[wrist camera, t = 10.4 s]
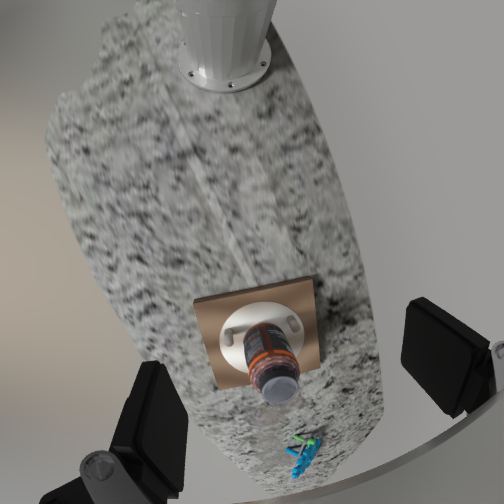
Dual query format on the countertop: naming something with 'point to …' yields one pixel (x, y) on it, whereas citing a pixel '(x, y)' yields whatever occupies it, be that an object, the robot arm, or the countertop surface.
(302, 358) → the pin board
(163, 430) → the robot arm
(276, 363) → the supplement bottle
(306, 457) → the gear
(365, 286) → the countertop surface
